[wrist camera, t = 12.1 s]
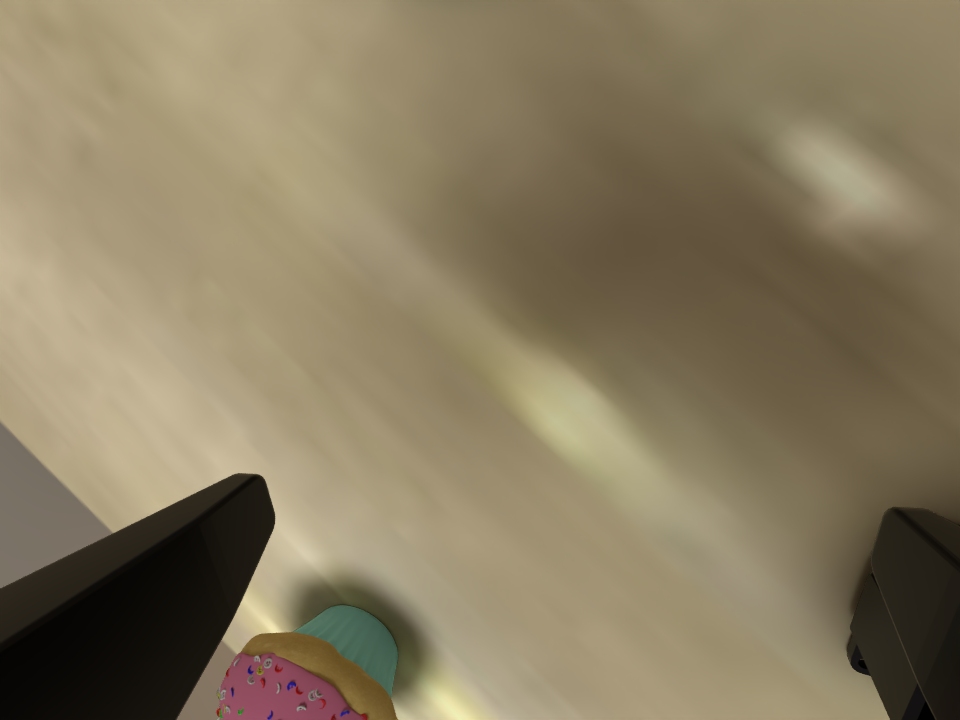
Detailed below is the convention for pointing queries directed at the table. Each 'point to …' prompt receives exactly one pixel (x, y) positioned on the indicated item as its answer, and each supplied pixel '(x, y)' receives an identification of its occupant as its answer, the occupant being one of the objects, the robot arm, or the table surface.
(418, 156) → the table surface
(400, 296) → the table surface
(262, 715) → the cupcake
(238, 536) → the robot arm
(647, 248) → the table surface
